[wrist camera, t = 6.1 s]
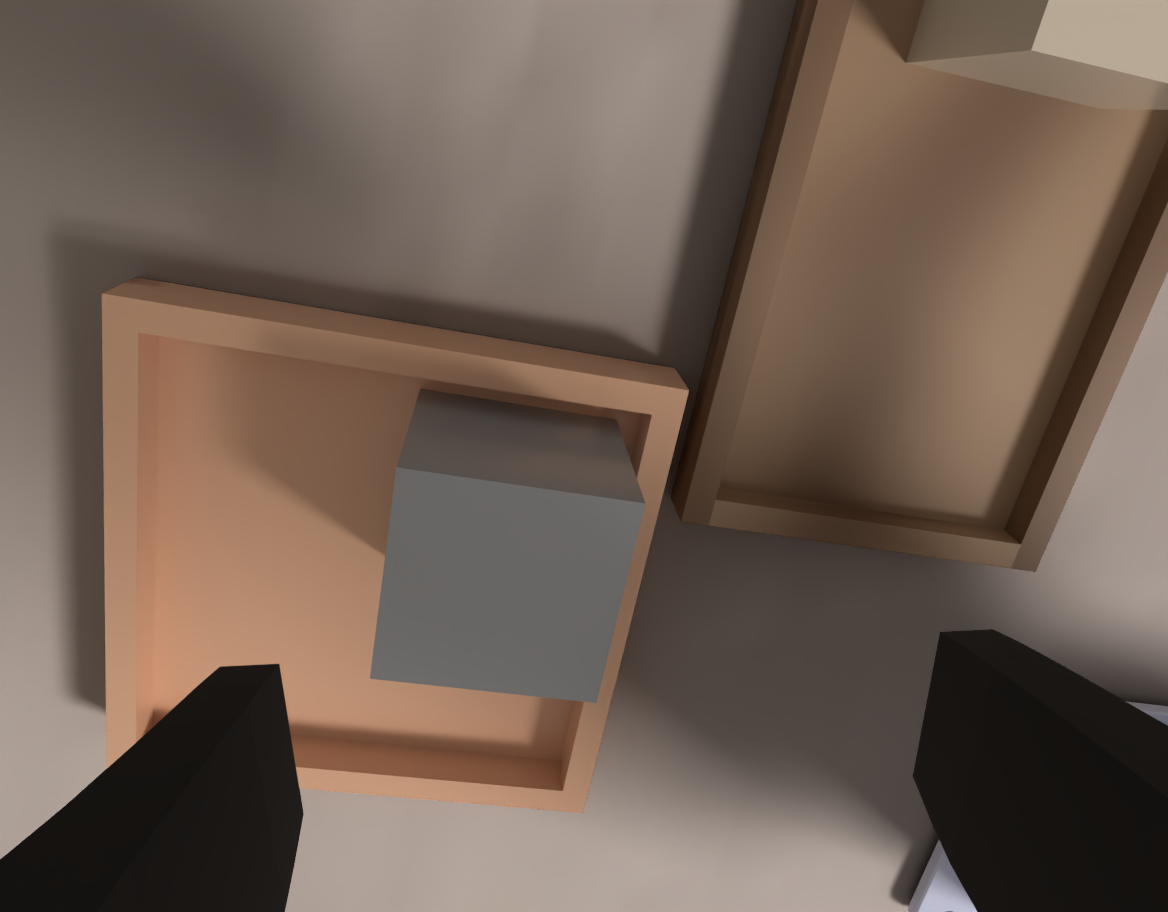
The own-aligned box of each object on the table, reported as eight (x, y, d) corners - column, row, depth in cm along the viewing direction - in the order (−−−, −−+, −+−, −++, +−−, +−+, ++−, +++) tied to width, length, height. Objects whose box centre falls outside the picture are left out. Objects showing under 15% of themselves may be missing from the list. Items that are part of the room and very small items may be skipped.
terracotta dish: (674, 367, 18) (689, 390, 16) (578, 767, 22) (583, 813, 20) (136, 277, 16) (101, 293, 15) (134, 725, 20) (106, 771, 19)
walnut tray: (1333, -231, 15) (1401, -257, 14) (1006, 546, 20) (1035, 572, 19) (891, -369, 13) (926, -412, 12) (670, 497, 19) (681, 521, 18)
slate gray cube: (579, 586, 19) (596, 702, 15) (397, 563, 18) (369, 678, 15) (616, 419, 18) (645, 503, 14) (420, 388, 17) (396, 466, 13)
